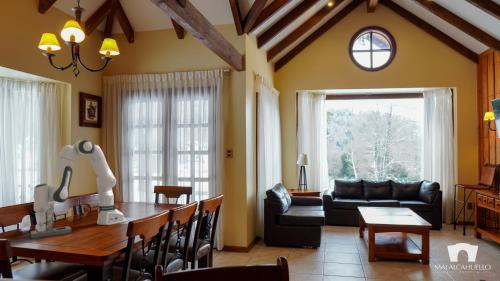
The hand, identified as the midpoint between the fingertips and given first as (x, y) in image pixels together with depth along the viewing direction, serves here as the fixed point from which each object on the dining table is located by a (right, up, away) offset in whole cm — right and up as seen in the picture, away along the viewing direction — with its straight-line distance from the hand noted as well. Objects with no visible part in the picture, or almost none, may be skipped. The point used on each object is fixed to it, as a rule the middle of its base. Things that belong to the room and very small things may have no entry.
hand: (41, 227), depth 244 cm
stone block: (-7, -6, +19) cm, 21 cm away
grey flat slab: (+5, -6, +3) cm, 8 cm away
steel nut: (0, -6, 0) cm, 6 cm away
